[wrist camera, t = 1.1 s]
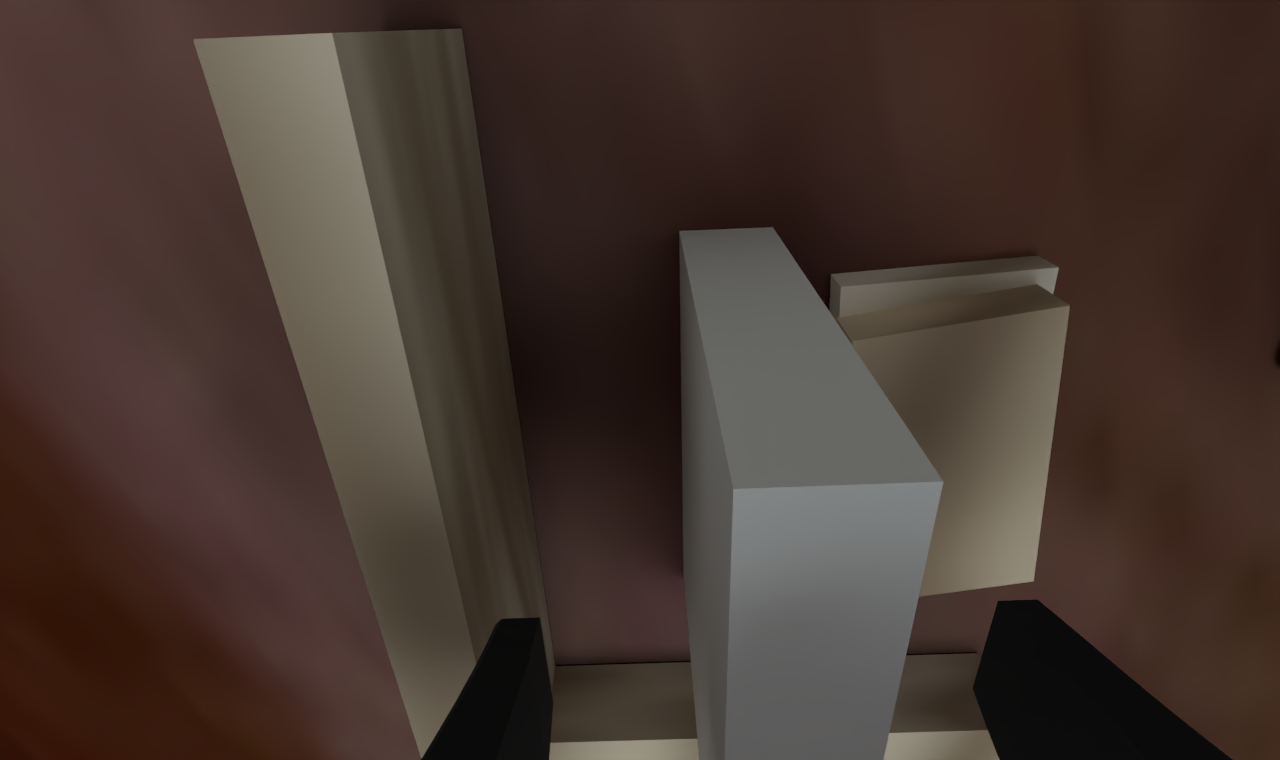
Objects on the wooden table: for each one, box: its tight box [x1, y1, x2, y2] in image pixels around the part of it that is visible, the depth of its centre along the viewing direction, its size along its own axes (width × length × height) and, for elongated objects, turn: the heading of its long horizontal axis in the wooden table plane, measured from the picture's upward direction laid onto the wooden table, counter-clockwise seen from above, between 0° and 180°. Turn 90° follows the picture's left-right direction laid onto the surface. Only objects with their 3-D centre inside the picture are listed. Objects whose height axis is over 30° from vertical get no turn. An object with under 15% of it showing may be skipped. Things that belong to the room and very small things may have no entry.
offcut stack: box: [829, 256, 1070, 597], centre depth 16 cm, size 5×8×2 cm, turn 5°
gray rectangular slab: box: [679, 227, 944, 760], centre depth 13 cm, size 2×10×9 cm, turn 2°
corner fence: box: [193, 28, 1000, 760], centre depth 14 cm, size 14×19×6 cm
